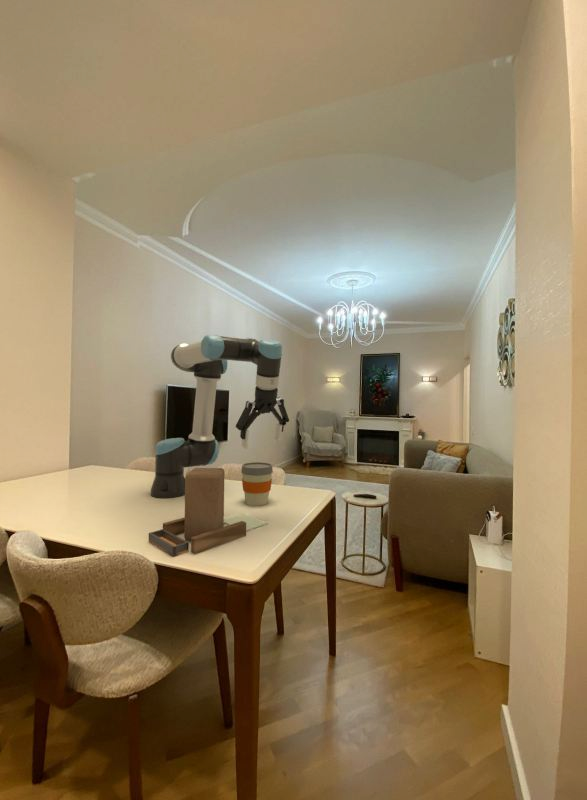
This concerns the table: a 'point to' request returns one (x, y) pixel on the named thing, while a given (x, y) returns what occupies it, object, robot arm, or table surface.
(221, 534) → the alley
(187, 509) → the block
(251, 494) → the reusable coffee cup
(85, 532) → the table surface
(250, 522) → the pad
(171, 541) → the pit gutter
